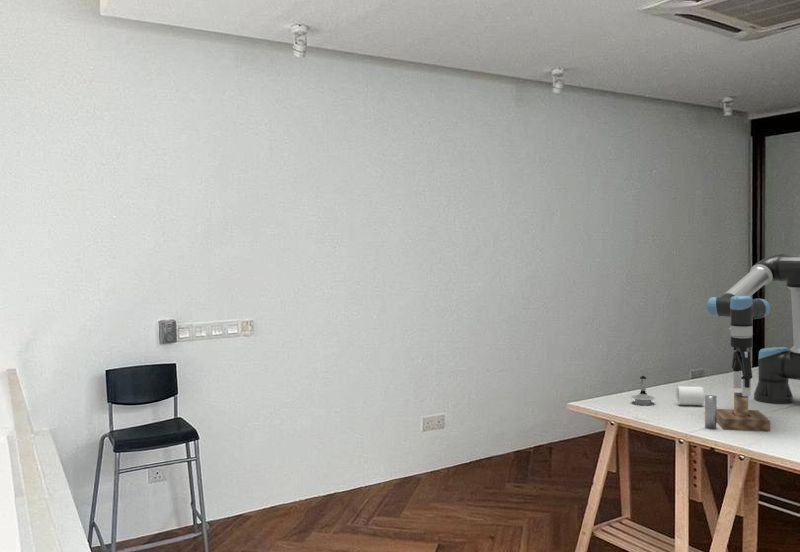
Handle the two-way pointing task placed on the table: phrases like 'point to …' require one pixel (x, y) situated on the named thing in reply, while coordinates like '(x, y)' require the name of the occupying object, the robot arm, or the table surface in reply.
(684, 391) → the mug
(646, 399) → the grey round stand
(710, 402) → the round bit
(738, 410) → the square bit
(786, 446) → the table surface
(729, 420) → the bore block
